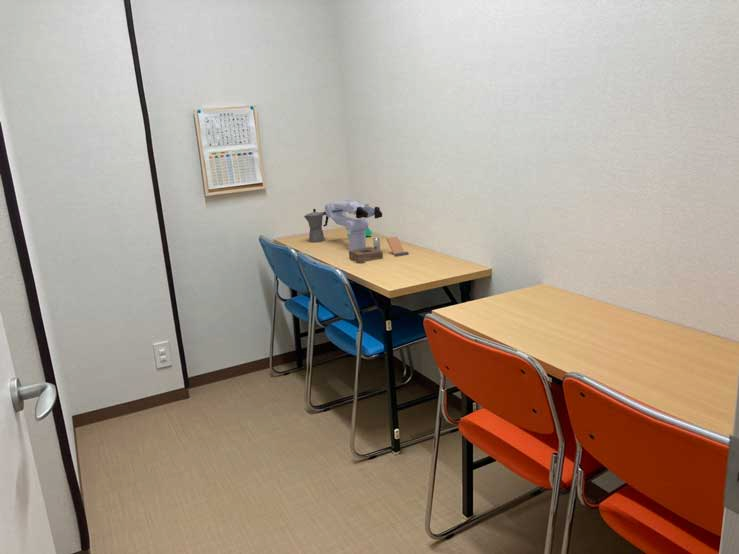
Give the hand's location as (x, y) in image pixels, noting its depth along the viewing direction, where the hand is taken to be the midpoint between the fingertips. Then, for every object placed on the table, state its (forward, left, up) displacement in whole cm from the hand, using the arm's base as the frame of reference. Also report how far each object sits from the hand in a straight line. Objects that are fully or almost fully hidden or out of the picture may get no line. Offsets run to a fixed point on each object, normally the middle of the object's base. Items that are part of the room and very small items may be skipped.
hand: (374, 215), depth 277 cm
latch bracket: (+7, +10, -20) cm, 24 cm away
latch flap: (+2, +10, -17) cm, 19 cm away
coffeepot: (-57, -8, -21) cm, 61 cm away
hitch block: (+1, -6, -20) cm, 21 cm away
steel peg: (-5, +3, -20) cm, 21 cm away
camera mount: (-49, +14, -21) cm, 55 cm away
